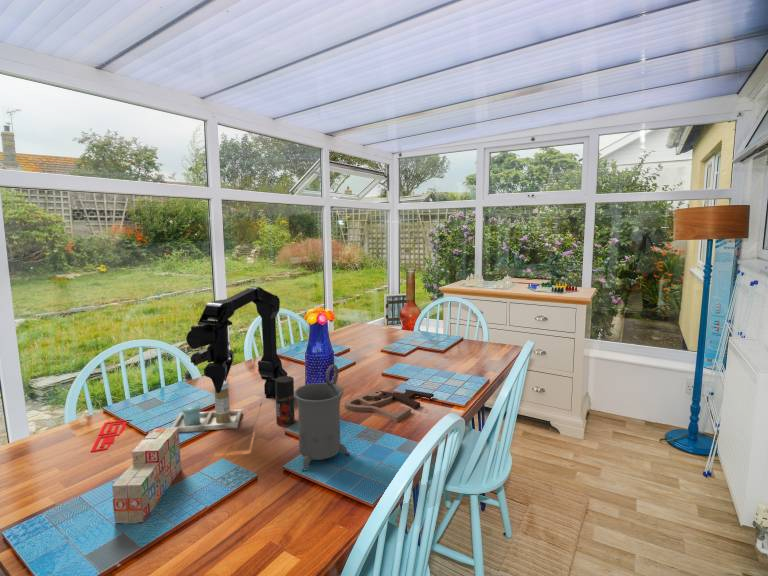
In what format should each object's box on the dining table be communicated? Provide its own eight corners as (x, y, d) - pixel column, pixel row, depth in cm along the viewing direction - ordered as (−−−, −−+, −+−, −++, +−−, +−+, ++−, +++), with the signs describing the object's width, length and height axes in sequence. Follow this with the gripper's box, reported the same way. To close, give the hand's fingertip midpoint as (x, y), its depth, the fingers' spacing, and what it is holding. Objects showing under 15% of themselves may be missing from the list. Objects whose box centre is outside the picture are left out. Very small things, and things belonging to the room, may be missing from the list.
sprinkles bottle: (226, 416, 145) (224, 378, 143) (232, 421, 142) (231, 382, 140) (213, 421, 142) (211, 382, 140) (219, 425, 138) (217, 385, 137)
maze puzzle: (104, 424, 142) (104, 422, 142) (171, 414, 150) (171, 412, 150) (90, 453, 124) (90, 451, 124) (167, 440, 132) (167, 438, 131)
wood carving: (434, 399, 165) (383, 385, 178) (434, 394, 164) (384, 380, 178) (393, 426, 142) (339, 408, 156) (393, 420, 142) (339, 403, 155)
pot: (203, 419, 143) (202, 403, 142) (199, 426, 138) (198, 410, 137) (185, 420, 142) (184, 404, 141) (181, 428, 137) (180, 411, 136)
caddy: (241, 415, 148) (241, 409, 148) (237, 430, 137) (237, 423, 137) (180, 420, 144) (179, 413, 144) (170, 435, 134) (169, 428, 133)
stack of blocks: (143, 523, 94) (139, 472, 93) (114, 525, 94) (109, 473, 92) (181, 469, 116) (178, 426, 114) (157, 470, 115) (154, 427, 113)
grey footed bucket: (326, 478, 112) (325, 386, 108) (280, 465, 118) (277, 378, 114) (359, 445, 129) (359, 365, 125) (318, 435, 135) (316, 358, 131)
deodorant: (297, 419, 145) (297, 377, 143) (288, 427, 140) (287, 383, 138) (282, 417, 147) (281, 375, 145) (272, 424, 142) (271, 381, 140)
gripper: (199, 334, 145) (201, 379, 147) (184, 350, 127) (187, 400, 129) (233, 333, 147) (235, 377, 149) (223, 348, 129) (226, 397, 131)
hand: (221, 387), depth 140 cm, fingers open, 9 cm apart
